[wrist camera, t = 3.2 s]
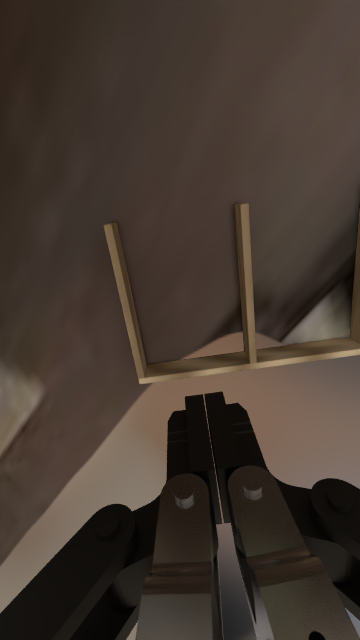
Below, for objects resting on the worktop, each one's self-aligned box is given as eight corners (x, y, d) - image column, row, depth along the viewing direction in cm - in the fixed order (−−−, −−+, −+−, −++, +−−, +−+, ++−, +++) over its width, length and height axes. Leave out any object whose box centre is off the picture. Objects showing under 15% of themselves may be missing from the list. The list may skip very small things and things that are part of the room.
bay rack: (142, 370, 31) (139, 384, 28) (109, 223, 25) (103, 225, 23) (462, 326, 30) (486, 337, 27) (499, 164, 24) (534, 160, 22)
